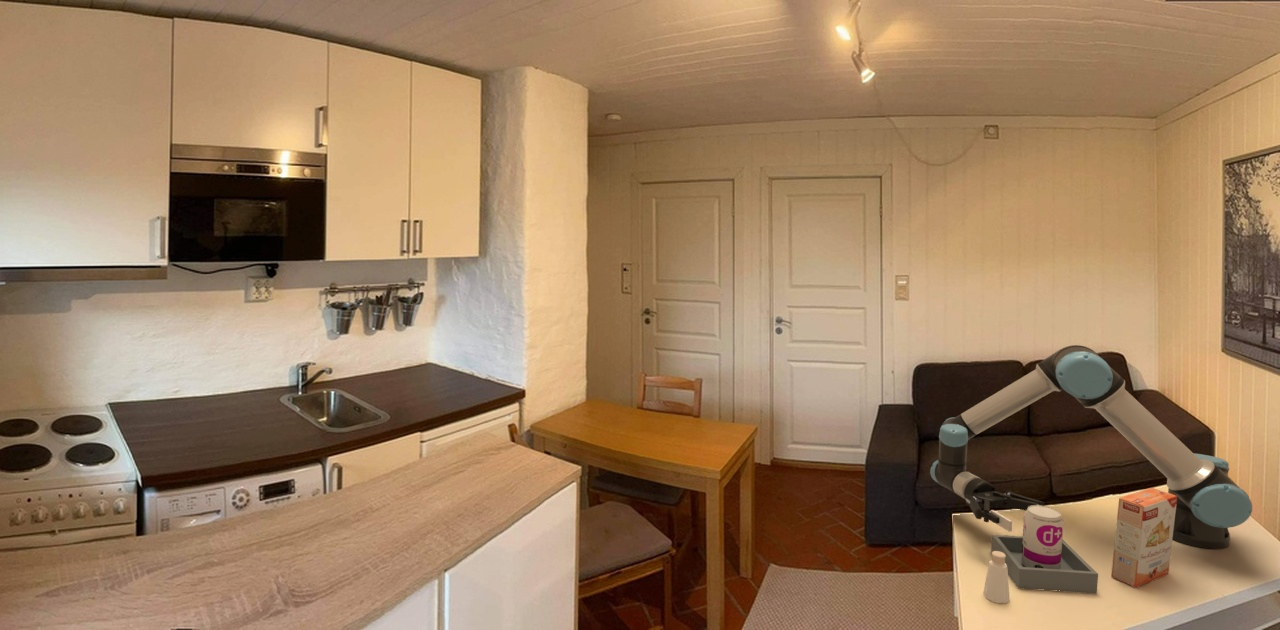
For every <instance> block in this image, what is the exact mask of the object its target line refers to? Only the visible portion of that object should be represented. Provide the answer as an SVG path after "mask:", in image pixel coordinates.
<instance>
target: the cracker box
mask: <svg viewBox="0 0 1280 630" xmlns="http://www.w3.org/2000/svg"><path fill="white" fill-rule="evenodd" d="M1176 504H1177V496H1176V495H1173V494H1170V493H1168V491H1163V490H1160V489H1157V488H1154V487H1150V488H1147V489H1143V490H1139V491H1137V492H1134V493H1131V494H1128V495H1124V496H1120V497H1119V498H1118V507H1117V515H1116V526H1115V527H1116V528H1115V536H1114V545H1113V553H1112V555H1113V557H1112V565H1111V566H1112V567H1111V578H1114V579H1116V580H1118V581H1120V582H1122V583H1125V584H1127V585H1128V586H1131V587H1134V588H1138V587H1140V586H1143V585H1145V584H1147V583H1150V582H1153V581H1155V580H1157V579H1159V578H1163V577H1165V576H1167V575H1169V571H1170V561H1171V554H1172V545H1173V539H1172V538H1173V529H1174V521H1175V513H1176Z"/></svg>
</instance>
